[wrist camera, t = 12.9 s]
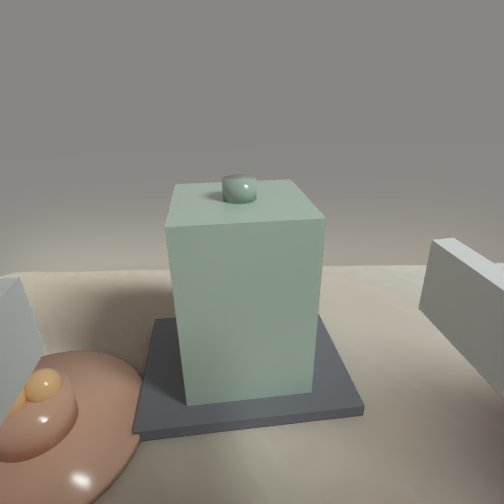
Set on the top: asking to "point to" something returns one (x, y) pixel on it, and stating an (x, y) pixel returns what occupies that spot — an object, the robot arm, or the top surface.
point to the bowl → (69, 430)
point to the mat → (243, 411)
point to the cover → (245, 287)
